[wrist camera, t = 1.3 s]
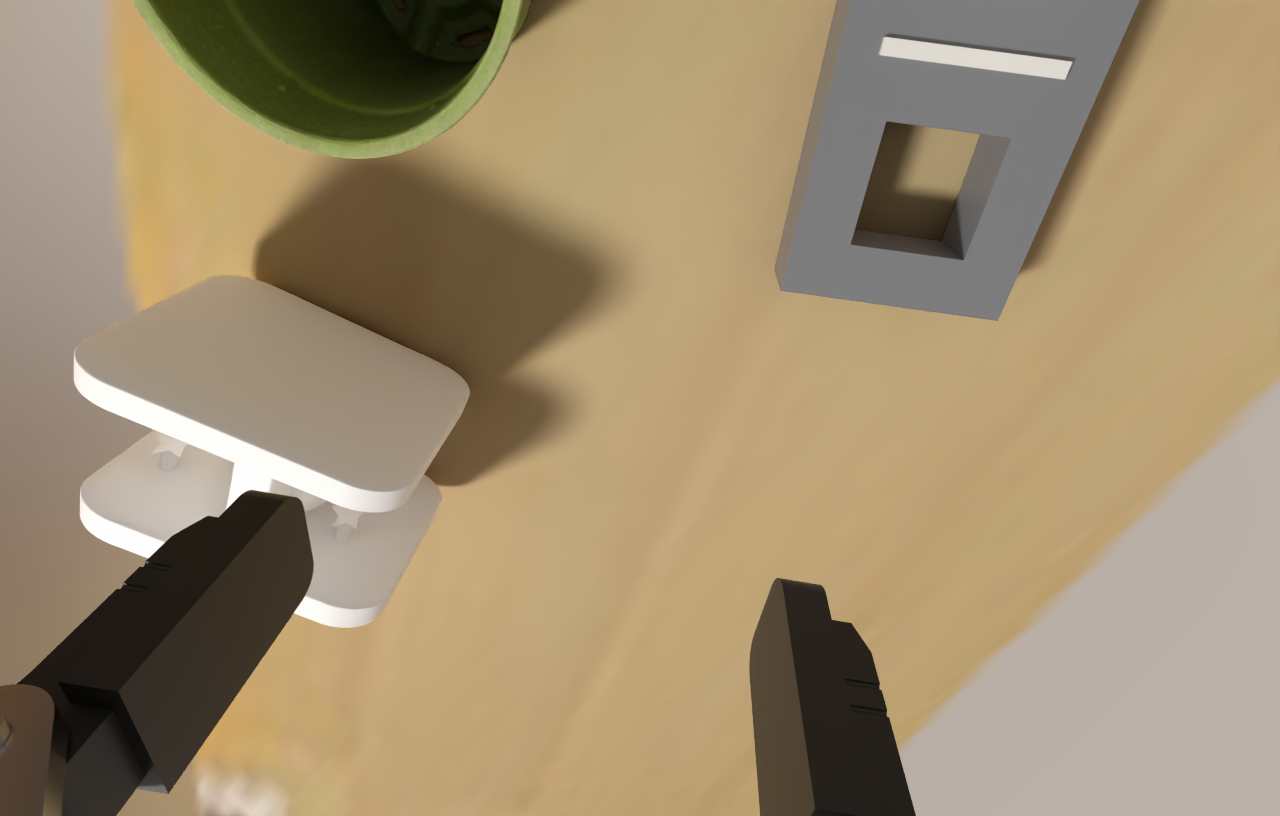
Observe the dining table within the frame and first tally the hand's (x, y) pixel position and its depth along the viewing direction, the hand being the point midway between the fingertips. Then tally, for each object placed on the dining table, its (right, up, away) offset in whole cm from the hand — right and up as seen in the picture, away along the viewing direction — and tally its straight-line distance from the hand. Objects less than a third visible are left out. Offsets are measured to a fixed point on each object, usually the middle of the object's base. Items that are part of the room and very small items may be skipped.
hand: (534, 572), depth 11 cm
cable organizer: (-15, +4, +27) cm, 31 cm away
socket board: (+15, +18, +15) cm, 28 cm away
